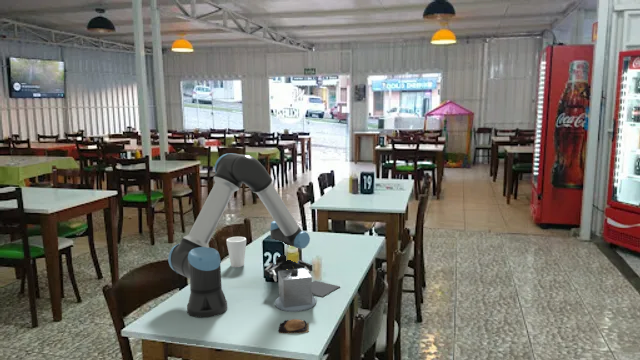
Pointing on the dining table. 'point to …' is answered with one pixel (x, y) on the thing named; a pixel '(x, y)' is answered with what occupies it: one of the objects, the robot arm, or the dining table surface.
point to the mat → (322, 288)
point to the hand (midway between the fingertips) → (292, 276)
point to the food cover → (295, 287)
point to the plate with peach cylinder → (296, 308)
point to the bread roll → (294, 326)
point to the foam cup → (236, 250)
